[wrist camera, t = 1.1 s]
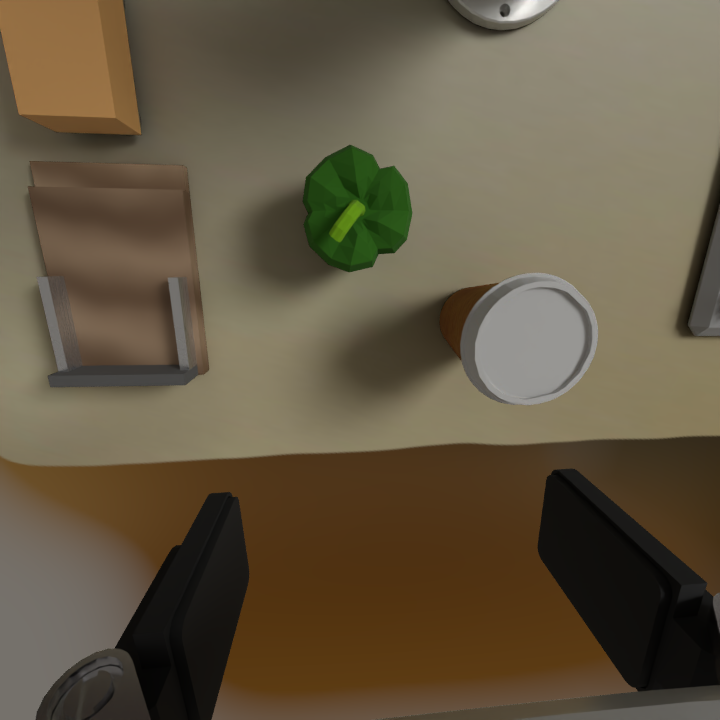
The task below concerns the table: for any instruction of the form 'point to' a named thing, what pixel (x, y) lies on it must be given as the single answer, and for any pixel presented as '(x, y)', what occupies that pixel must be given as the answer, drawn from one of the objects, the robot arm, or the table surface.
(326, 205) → the bell pepper
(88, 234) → the loading dock
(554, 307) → the disposable coffee cup
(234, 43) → the table surface
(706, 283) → the decorative plate
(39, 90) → the orange block
